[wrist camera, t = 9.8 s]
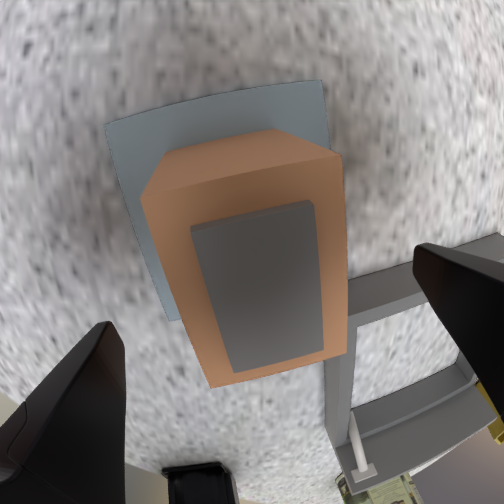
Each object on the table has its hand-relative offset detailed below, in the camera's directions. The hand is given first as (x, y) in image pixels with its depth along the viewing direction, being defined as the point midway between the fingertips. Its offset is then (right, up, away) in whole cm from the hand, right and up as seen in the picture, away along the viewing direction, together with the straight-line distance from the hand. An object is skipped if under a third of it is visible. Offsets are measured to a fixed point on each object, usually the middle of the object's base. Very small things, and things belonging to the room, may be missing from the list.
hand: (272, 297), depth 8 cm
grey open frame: (+13, -6, +14) cm, 20 cm away
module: (-1, +3, +7) cm, 8 cm away
